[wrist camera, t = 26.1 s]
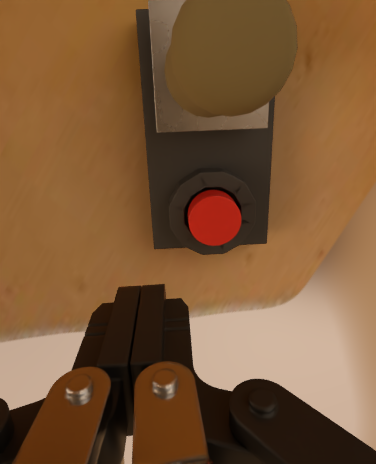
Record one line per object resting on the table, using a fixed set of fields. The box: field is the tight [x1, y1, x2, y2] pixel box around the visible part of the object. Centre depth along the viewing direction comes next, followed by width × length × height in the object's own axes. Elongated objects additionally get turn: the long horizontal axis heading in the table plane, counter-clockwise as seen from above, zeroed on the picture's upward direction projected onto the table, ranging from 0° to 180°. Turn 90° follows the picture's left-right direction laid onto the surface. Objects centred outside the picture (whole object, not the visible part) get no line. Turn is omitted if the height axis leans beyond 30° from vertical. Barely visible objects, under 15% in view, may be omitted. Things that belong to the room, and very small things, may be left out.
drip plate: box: [148, 0, 269, 133], centre depth 23 cm, size 8×8×1 cm
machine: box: [136, 9, 275, 255], centre depth 27 cm, size 18×10×4 cm, turn 2°
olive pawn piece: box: [164, 0, 298, 118], centre depth 17 cm, size 6×6×11 cm
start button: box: [188, 190, 241, 246], centre depth 26 cm, size 4×4×2 cm
